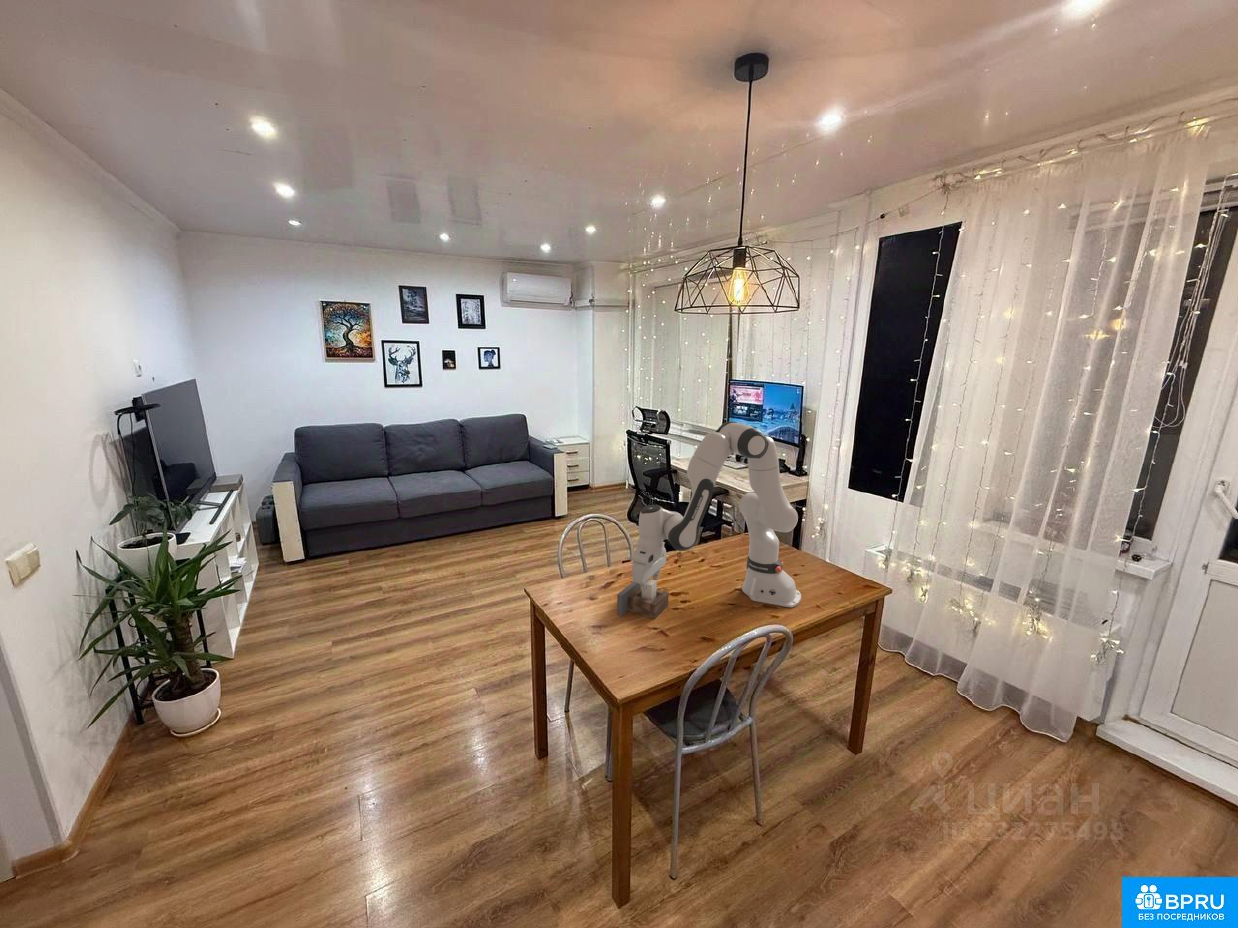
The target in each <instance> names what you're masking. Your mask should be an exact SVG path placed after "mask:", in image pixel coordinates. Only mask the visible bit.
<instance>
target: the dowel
mask: <svg viewBox="0 0 1238 928" xmlns="http://www.w3.org/2000/svg"><path fill="white" fill-rule="evenodd" d="M657 581H658V580H653V579H651V578H649V579H647V580H646V583H645V585H647V589H646V590H645V591H642V598H644V599H647V600H651V601H653V600H654V599H656V589H657V584H658V583H657Z"/></svg>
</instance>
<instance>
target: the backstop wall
mask: <svg viewBox="0 0 1238 928" xmlns="http://www.w3.org/2000/svg"><path fill="white" fill-rule="evenodd" d="M639 587H640V584H638V583H635V582H631V583H629V584H628V585H627V586H626V587H624V588H623V589H622V590H621V591H619V593H617V595H616V597H617V598H616V599H617V600H616V601H617V602H616V606H617V607H616V615H618V616H620V617H622V616H624V615H625V614H626V613H627V612H629V611H628V596H630V595H631V594H632V593H633V592H634V591H636V590H637V589H638V588H639Z"/></svg>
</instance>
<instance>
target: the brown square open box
mask: <svg viewBox="0 0 1238 928" xmlns="http://www.w3.org/2000/svg"><path fill="white" fill-rule="evenodd" d="M669 597H670V595H669V591H666V590H662V589H660V588H659V589H658V588H656V599H654V600H653V601H651V600H647V599H644V598H642V590H641V586H640V587H639V588H638V589H637V590H636V591H634V592H633V593H632V594H631V595H630V596H628V611H627V612H631V613H633V614H636V615H638V616H639V615H640V616H643V617H646V618H649V619H652V620H656V619H657V618H658V617H659V616H660V615H661V614H663V612H664V611H665V610H666V609H667V608H668V606H669Z"/></svg>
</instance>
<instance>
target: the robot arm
mask: <svg viewBox="0 0 1238 928" xmlns="http://www.w3.org/2000/svg"><path fill="white" fill-rule="evenodd" d="M717 428H718V429H716V430H715V431H710V432H708V433H707V434H706V435H704V437H703V438H702V439H701V441H700V442H699V444H698V446H697V447H696V449H695V450H694V453H693V455H692V456H691V458H690V461H689V463H688V466H687V470H686V475H687V478H688V481H689V482H690V483H689V484H690V487H691V498H690V500H689V503H688V505H687V507H686V510H685V513H684V516H683V515H682V514H681V513H679V512H677V511H671V510H667V509H665V508H663V507H662V506H660V505H658V504H651V505H647V506H644V507H643V508H642V509H641V510H640V513H639V517H638V528H637V529H638V535H639V537H638V541H637V543H638V544H637V546H636V549H635V550H634V552H632V554H631V562H632V564H631V565H632V566H631V579H632V580H631V581H633V582H635V583H638V584H640V586H641V590H642V591H645V590H646V589H647V585H645V583H646V580H647V579H651V577H652V580H654V581H658V580H659V578H660V572H661V569H662V568H663V567H664V566H665V565H666V564H667V550H666V548H665V543H664V541H665V540H667V541H668V542H669V544H670V545H671V547H672V548H673V549H674V550H676V551H679V552H685V551H689V550H691V549H692V548H694V547H695V545H696V544H697V542H698V541H699V537H700V528H701V525H702V522H703V519H704V517H705V514H706V513H707V510H708V507H709V505H710V502H711V500H712V498H713V493H714V489H715V485H716V482H717V479H718V477H719V475H720V473H721V470H722V469H723V466H724V464H725V462H726V460H727V458H728V457H729V456H731V455H732V454H733V455H734V454H735V455H739V456H740V457H743V458H745V459H747V470H748V477H749V478H748V480H749V485H750V488H751V489H752V491H753V492H747V493H745V494H744V495H743V496H742V497H741V498H740V500H739V504H738V508H739V511H740V514H742V516H743V518H744V520H745V523H746V526H747V531H748V536H749V548H748V555H747V558H746V574H745V577H744V582H743V584H742V586H741V590H742V592H743V593H744V594H745V595H746V596H748V597H749V599H750V600H751V601H752V602H753V601H754V602H758V603H762V604H763V603H764V604H769V605H774V606H780V607H786V608H794V607H796V606H798V605H799V604H800V602H801V601H802V594H801V592H800V591H799V590H797V588H796V582H795V580H794V578H792V577H791V576H790V575H789V574H788V573H787V572H785V571H784V570H783V566H784V560H782V561H780V559H779V550H780V540H779V538H778V536H777V535H776V533H775V531H776V532H780V533H789V532H791V531H792V530H793V529H795V527H796V526H797V525H798V524H797V523H798V519H799V515H798V512H797V510H796V509H795V508H794V507H793V506H792V505H791V502H790V501H789V500H788V498H787V496H786V493H785V491H784V489H783V486H782V481H781V474H780V461H779V455H778V450H777V447H776V443H775V441H774V439H773V438H772V437H770V436H768V435H767V436H766V435H765V434H764V433H763V432H762V431H761V430H760V429H758V428H757V427H756V428H755V427H753V426H751V425H749V424H747V423H746V424H745V423H740V422H737V421H732V420H731V421H726V422H724V423H722V424H721V425H720V426H719V427H717Z"/></svg>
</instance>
